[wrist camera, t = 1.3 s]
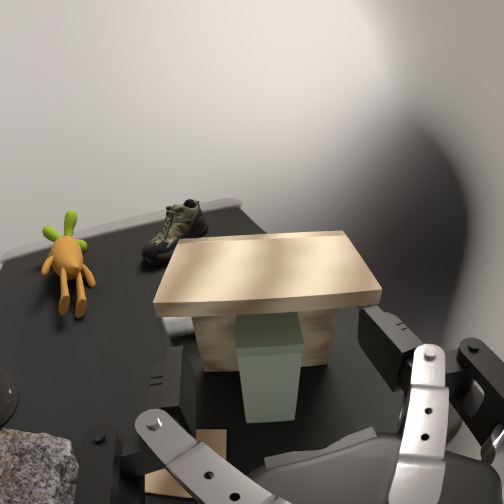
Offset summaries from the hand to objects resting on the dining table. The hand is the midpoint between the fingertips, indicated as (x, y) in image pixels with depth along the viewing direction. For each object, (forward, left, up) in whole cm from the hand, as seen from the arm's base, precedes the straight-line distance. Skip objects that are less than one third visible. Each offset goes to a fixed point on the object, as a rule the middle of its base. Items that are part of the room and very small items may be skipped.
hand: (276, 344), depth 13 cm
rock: (-24, -6, -19) cm, 32 cm away
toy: (-40, +36, -19) cm, 57 cm away
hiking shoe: (-17, +50, -19) cm, 56 cm away
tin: (0, +9, -19) cm, 21 cm away
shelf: (0, +11, -19) cm, 22 cm away
